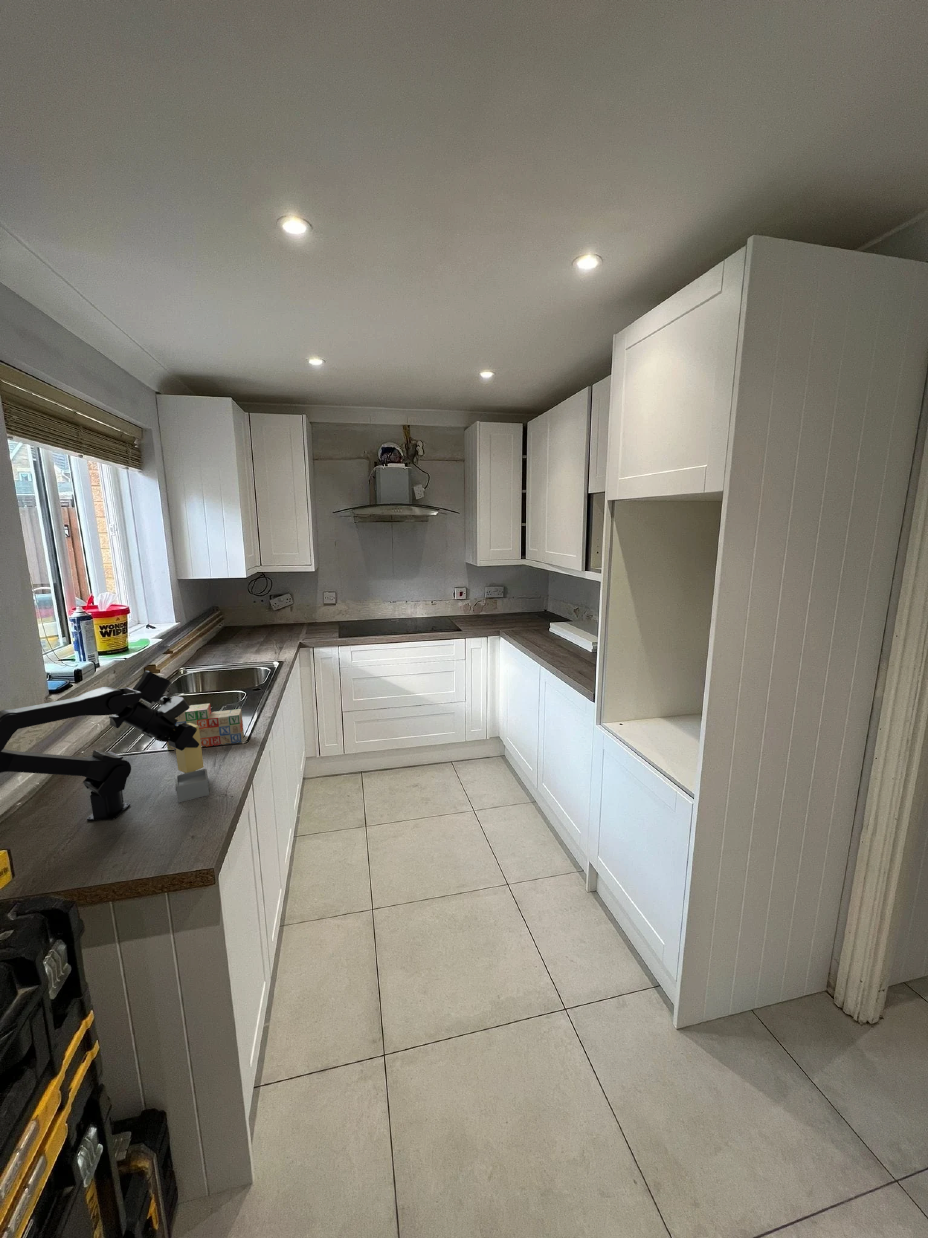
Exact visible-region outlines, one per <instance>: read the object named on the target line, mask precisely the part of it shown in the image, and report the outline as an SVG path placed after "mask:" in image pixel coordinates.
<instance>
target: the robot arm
mask: <svg viewBox="0 0 928 1238" xmlns="http://www.w3.org/2000/svg"><path fill="white" fill-rule="evenodd" d="M172 684H173V683H172V681H170V680H168V679H167V678H166V677H162V676H160V675H157V674H156V673H153V672H152V671H149V670H145V671H144V672H143V673H142V675H141V677H140V679H139V680H138V681H137V682H136V684H135V685H134V686H133V688H130V687H121V688H113V687H111V686H101V687H98V688H96V689H92V690H90V691H89V690H88V691H87V692H84V693H82V694H80V695H78V696H76V697H73V698H72V697H71V698H66V699H61V700H55V701H51V702H44V703H40V704H35V705H28V706H24V707H18V708H17V707H16V708H12V709H2V710H0V774H3V773H25V774H42V775H57V776H75V777H85V778H84V780H83V781H82V784H83V786H84V787H85V788H86V789H87V790H89V791H90V795H89V798H90V799H89V800H90V806H91V812H92V813H91V814H90V815H89V816H87V817H86V821H89V822H90V821H91V822H92V821H107V820H108V821H109V820H115V819H117V818H118V817H119V816H120V815H121V814H123V812H125V811H126V810H127V809H128V808H129V807H131V803H130V802H125V803H124V796H123V791H124V790H125V789H126V783H127V779H128V778H129V776H130V774H131V772H132V766H131V763H130V762H129V761H128V760H126V759H124V756H122V755H120V754H117V753H115V752H114V751H111V750H109V751H101V750H97V749H93V752H92V755H88V756H71V755H64V754H63V755H62V754H53V753H52V754H50V753H42V752H41V753H38V752H30V751H29V752H28V751H18V750H10V749H6V748H5V747H6V746H7V744H8V743H9V741H10V740H11V738H12V736H13V735H14V734H15V733H16V732H17V730H20V729H24V728H29V727H35V726H39V725H43V724H47V723H54V722H57V721H63V720H67V719H72V718H77V717H81V716H82V717H84V716H94V717H95V716H96V717H97V716H101V717H102V716H109V717H108V719H109V725H110V726H111V727H114V728H115V729H119V728H120V727H121V726H122V725H123V723H124V724H126V725H128V726H130V727H132V728H134V729H136V730H138V731H140V733H141V734H142V735H143V736H146V737H148V738H149V739H150V738H151V739H153V738H154V740H156V741H158V742H161V743H162V742H163V743H167V742H168V743H169V745H170V746H172V747H174V748H176V749H178V750H181V751H182V750H184V749H185V748H197V747H198V746H199V743H198V742H197V741H196V740H195V739H194V738H193V736H194V734H195V733H196V731H197V728H195V727H193V726H192V725H189V724H186V723H182V724H179V725H178V726H175V724H176V722H177V721H178V720H177V719H175V718H177V717H178V716H179V715H181V714H182V713H183V712H185V711H187V710H188V709H189V708H190V706H191V705H189V704H188V702H187V701H186V700H185V698H184V697H182V696H178V695H175V696H174V695H173V696H171V697H169V696H166V695H165V693H166V692H167V691H168V689H169V688H170V687H171V685H172ZM142 701H143V702H145V703H148V704H149V705H152V704H153V703H154V704H157V703H159V708H158V709H156V708H153V707H150V706H148V704H147V705H146V704H145V703H143V702H142ZM173 729H174V730H175V731H174V730H173Z"/></svg>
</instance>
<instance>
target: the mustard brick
mask: <svg viewBox="0 0 928 1238" xmlns="http://www.w3.org/2000/svg"><path fill="white" fill-rule="evenodd" d="M187 724H189V725H192V726H193V727H195V728H197V731H196V733H195V734H194V736H193V738H194V739H195V740H196V741H197V742H198V743H199V746H198V747H197V748H185V749H184V750H182V751H181V750H178V749H176V750H175V754H176V761H177V762H176V763H177V770H178V771H180V772H182V773H183V774H184V773H188V772H193V771H197V770H202V769H204V759H203V751H202V750H203V749H202V747H201V741H200V732H199V726H198V725H195V724H192V723H187ZM173 730H174V729H173ZM174 731H175V730H174Z"/></svg>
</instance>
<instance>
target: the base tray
mask: <svg viewBox="0 0 928 1238" xmlns="http://www.w3.org/2000/svg"><path fill="white" fill-rule="evenodd" d="M207 770H208V769H207V768H201V769H198V770H196V771H193V772H188V773H184V772H183V773H179V774H176V775H174V785H175V786H174V787H175V792H176V798H177V803H178V804H179V803H183V802H187V801H190V800H194V799H198V798H202V797H203V798H204V797H207V796H210V789H209V788H210V787H209V776H208V771H207Z"/></svg>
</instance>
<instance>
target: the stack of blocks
mask: <svg viewBox="0 0 928 1238" xmlns="http://www.w3.org/2000/svg"><path fill="white" fill-rule="evenodd" d="M189 706H190V708H189V709H188V710H187V711H185V712H183V713H182V714H181V715H179V716H178V717H177V718H175V719H177V720H178V721H177V722H176V724H175V726H178V725H179V724H182V723H186V724H187V723H192V724H195V725H198V726H199V732H200V741H201V746H206V747H212V746H213V745H214V746H219V745H220V744H222V745H226V744H225V743H230V744H237V742H238V743H242V742H243V739H244V736H245V732H244V722H243V713H242V708H238V709H237V708H236V709H228V710H218V711H217V710H216V711H212V710H211V709H212V708H211V703H200V704H191V705H189ZM166 748H167V751H168V750H173V749H176V748H174V747H172V746H170V745H169V743H168V742H166Z"/></svg>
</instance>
